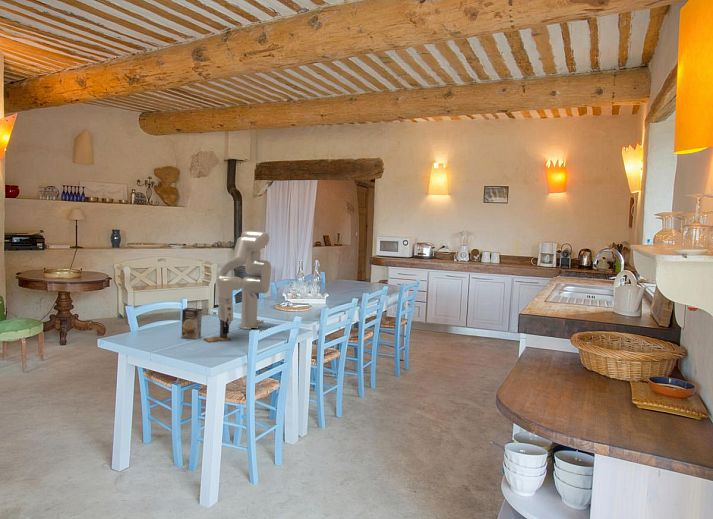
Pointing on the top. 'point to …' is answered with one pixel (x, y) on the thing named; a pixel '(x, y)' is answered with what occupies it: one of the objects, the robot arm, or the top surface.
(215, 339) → the brown l-shaped piece
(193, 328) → the coffee box
